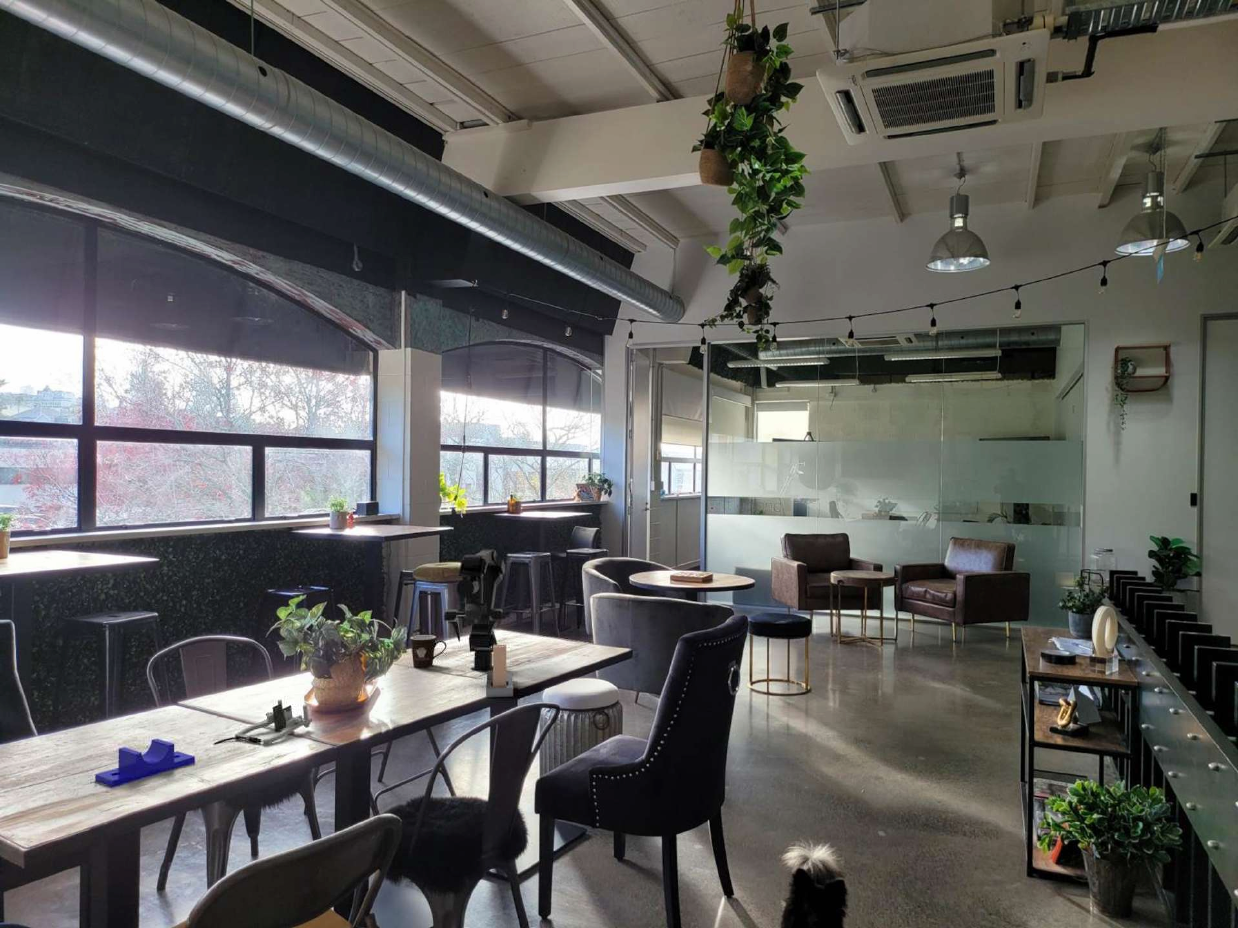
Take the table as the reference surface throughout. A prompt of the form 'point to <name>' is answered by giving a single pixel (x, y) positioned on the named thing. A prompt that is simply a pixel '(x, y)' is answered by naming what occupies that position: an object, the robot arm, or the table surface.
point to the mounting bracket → (144, 763)
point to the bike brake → (275, 724)
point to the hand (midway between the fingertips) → (473, 640)
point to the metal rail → (499, 687)
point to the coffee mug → (424, 650)
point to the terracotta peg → (499, 665)
